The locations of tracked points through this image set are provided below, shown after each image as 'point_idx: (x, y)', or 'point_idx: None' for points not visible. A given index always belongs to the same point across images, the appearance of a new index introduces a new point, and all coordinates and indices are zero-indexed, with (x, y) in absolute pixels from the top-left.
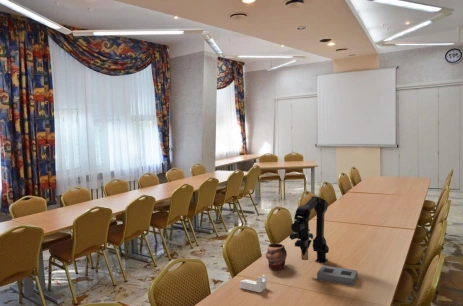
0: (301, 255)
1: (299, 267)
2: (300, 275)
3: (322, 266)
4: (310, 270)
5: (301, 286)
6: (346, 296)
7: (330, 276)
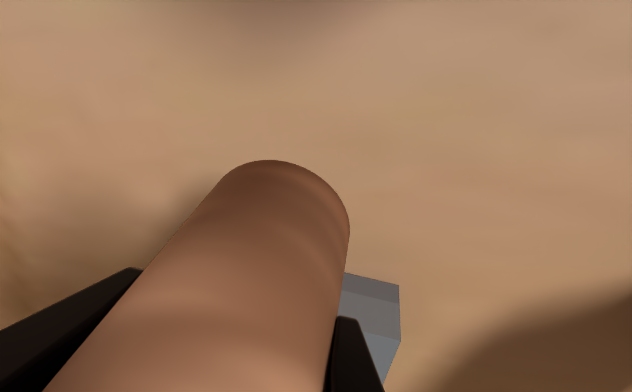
0: (213, 207)
1: (535, 15)
2: (253, 67)
3: (366, 339)
4: (426, 174)
5: (7, 108)
6: None
7: None
